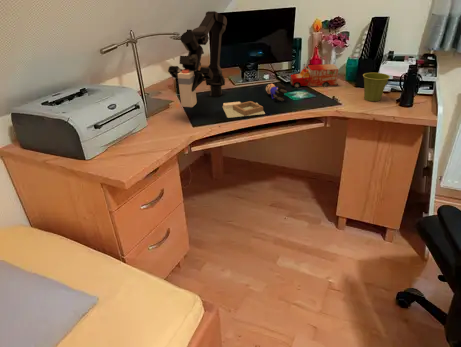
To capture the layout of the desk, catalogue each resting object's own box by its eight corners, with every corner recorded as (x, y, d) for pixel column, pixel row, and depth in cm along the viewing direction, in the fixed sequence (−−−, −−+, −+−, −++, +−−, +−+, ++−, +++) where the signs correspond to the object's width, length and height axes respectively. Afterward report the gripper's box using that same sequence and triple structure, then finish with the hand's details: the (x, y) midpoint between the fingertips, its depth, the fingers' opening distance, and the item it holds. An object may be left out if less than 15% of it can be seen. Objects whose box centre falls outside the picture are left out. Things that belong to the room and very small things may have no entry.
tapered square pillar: (186, 102, 154) (182, 67, 146) (196, 103, 153) (193, 68, 145) (181, 106, 150) (177, 71, 142) (192, 107, 149) (188, 72, 141)
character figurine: (275, 105, 168) (264, 96, 181) (289, 101, 170) (277, 93, 182) (275, 89, 164) (263, 81, 177) (289, 86, 166) (277, 78, 178)
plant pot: (384, 104, 162) (388, 80, 156) (357, 101, 167) (360, 77, 161) (387, 96, 171) (391, 73, 165) (361, 94, 176) (365, 71, 170)
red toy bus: (289, 83, 198) (289, 65, 193) (333, 81, 197) (335, 63, 192) (291, 89, 189) (292, 70, 183) (337, 87, 188) (340, 68, 183)
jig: (222, 108, 166) (221, 102, 164) (257, 105, 168) (257, 98, 166) (227, 120, 153) (227, 113, 151) (265, 116, 155) (265, 109, 154)
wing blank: (223, 106, 165) (223, 103, 164) (239, 104, 166) (239, 101, 165) (224, 108, 162) (224, 105, 162) (241, 106, 163) (241, 103, 163)
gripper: (166, 46, 146) (158, 80, 142) (208, 47, 140) (200, 82, 137) (177, 61, 156) (169, 93, 153) (216, 62, 151) (209, 95, 147)
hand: (186, 90), depth 147 cm, fingers closed on tapered square pillar, 5 cm apart
